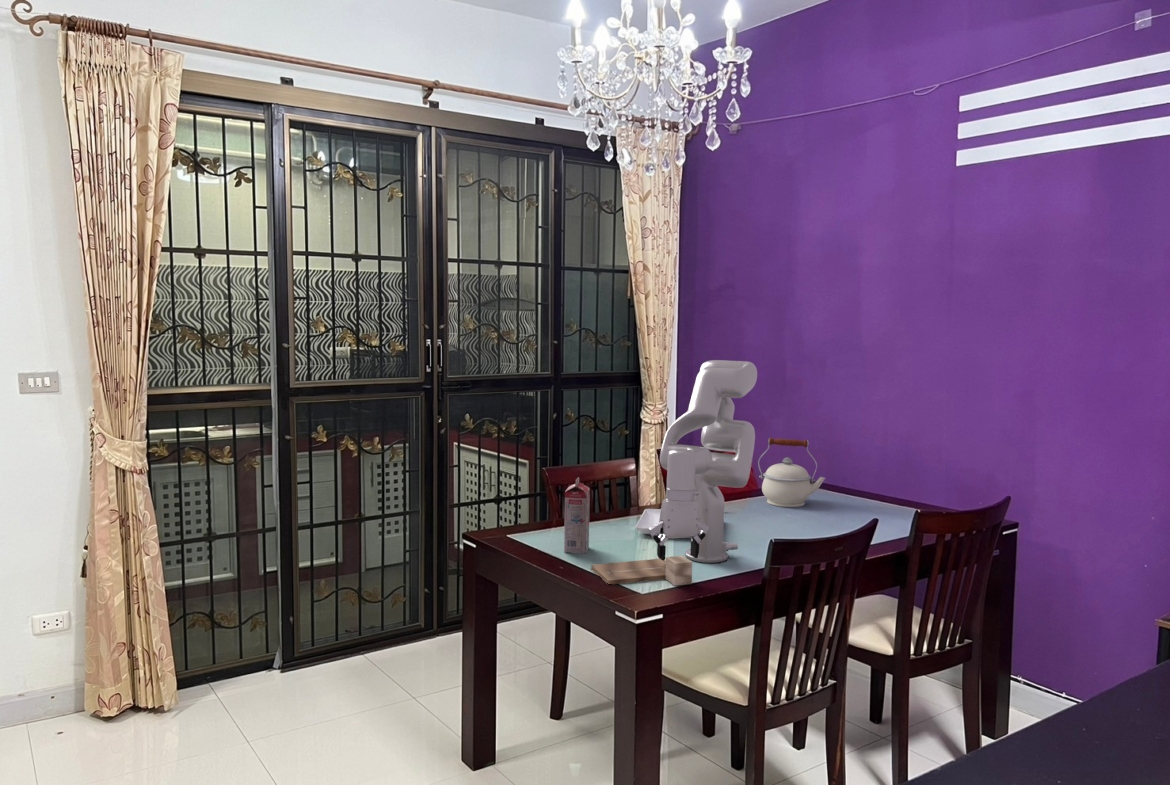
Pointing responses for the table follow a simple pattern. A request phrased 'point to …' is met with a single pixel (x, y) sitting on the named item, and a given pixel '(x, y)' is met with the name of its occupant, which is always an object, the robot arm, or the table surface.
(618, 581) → the board
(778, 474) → the kettle
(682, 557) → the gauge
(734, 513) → the table surface
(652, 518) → the square plate
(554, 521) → the table surface
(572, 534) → the juice carton
